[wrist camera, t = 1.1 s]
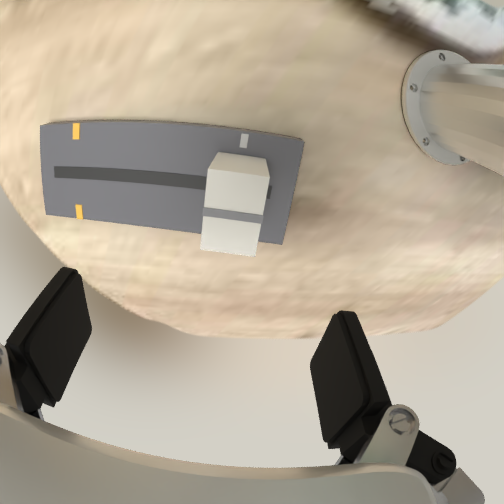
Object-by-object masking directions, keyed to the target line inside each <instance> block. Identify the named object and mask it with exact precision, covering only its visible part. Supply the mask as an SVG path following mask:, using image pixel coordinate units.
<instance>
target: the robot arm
mask: <svg viewBox="0 0 504 504" xmlns="http://www.w3.org/2000/svg"><path fill="white" fill-rule="evenodd" d="M410 86H411V89H410ZM402 108H403V114H404V118H405V122H406V125H407V127H408V130H409V132H410V134H411V136H412V137H413V139H414V141H415V143H416V144H417V145H418V146H419V147H420V149H421V150H422V151H423V152H424V153H426V154H427V155H428V156H429V157H431V158H433V159H435V160H436V161H439V162H441V163H443V164H447V165H461V164H464V163H467V162H469V161H470V160H471V161H473V162H475V163H478V164H480V165H482V166H484V167H486V168H488V169H490V170H492V171H494V172H496V173H498V174H500V175H502V176H504V65H499V64H471V63H470V62H469V61H468V60H466V59H465V58H464V57H462V56H461V55H459V54H457V53H455V52H451V51H447V50H434V51H429V52H426V53H424V54H422V55H420V56H419V57H418V58H416V59H415V60H414V61H413V63H412V64H411V65H410V67H409V68H408V71H407V73H406V75H405V78H404V82H403V86H402ZM91 331H92V326H91V321H90V317H89V312H88V308H87V303H86V298H85V293H84V288H83V282H82V277H81V275H80V274H78V271H77V270H76V269H72V268H67V267H62V268H61V269H60V270H59V271H58V273H57V274H56V275H55V276H54V277H53V278H52V280H51V281H50V282H49V283H48V285H47V286H46V287H45V288H44V290H43V291H42V292H41V294H40V295H39V296H38V298H37V299H36V300H35V301H34V303H33V304H32V305H31V307H30V308H29V309H28V311H27V312H26V313H25V315H24V316H23V317H22V319H21V320H20V322H19V323H18V325H17V326H16V327H15V329H14V330H13V332H12V333H11V335H10V336H9V338H8V339H7V343H6V345H5V346H3V345H2V344H0V504H484V502H485V499H484V495H483V493H482V491H481V490H480V489H479V488H478V487H477V486H476V485H475V484H474V482H473V481H472V480H471V479H470V478H469V477H468V476H467V475H466V474H465V473H464V471H462V469H461V468H458V469H456V459H455V455H454V454H453V452H452V451H451V450H450V449H449V448H447V447H446V446H444V445H442V444H441V443H439V442H437V441H436V440H434V439H433V438H431V437H429V436H428V435H426V434H425V433H423V432H422V431H420V430H419V419H418V417H417V415H416V414H415V412H414V411H413V410H412V409H410V408H409V407H407V406H405V405H399V404H397V405H392V404H391V401H390V398H389V395H388V392H387V390H386V387H385V384H384V381H383V379H382V376H381V373H380V371H379V368H378V365H377V363H376V361H375V358H374V355H373V353H372V351H371V349H370V346H369V344H368V341H367V339H366V336H365V334H364V332H363V329H362V327H361V324H360V322H359V320H358V317H357V315H356V313H355V312H352V311H339V312H338V313H337V314H334V315H333V316H332V319H331V321H330V323H329V325H328V327H327V329H326V331H325V333H324V335H323V337H322V339H321V341H320V343H319V345H318V347H317V349H316V351H315V353H314V355H313V358H312V360H311V362H310V370H311V375H312V381H313V386H314V391H315V397H316V402H317V407H318V413H319V418H320V425H321V430H322V436H323V440H324V442H327V443H328V449H335V448H340V452H341V456H340V458H339V459H338V461H337V462H336V464H335V465H332V466H320V467H297V468H251V467H234V466H221V465H211V464H202V463H194V462H187V461H181V460H175V459H169V458H164V457H158V456H153V455H149V454H144V453H140V452H136V451H131V450H128V449H124V448H120V447H116V446H113V445H109V444H106V443H103V442H100V441H96V440H93V439H90V438H87V437H84V436H82V435H79V434H76V433H73V432H70V431H68V430H65V429H63V428H60V427H57V426H55V425H52V424H50V423H48V422H45V421H44V418H43V415H42V412H41V409H40V408H41V406H42V403H44V404H47V405H49V406H52V407H54V406H55V404H56V401H57V402H59V401H60V400H61V398H62V395H63V393H64V391H65V388H66V386H67V384H68V382H69V379H70V377H71V374H72V372H73V370H74V368H75V366H76V364H77V362H78V359H79V357H80V355H81V353H82V351H83V349H84V347H85V345H86V343H87V341H88V339H89V337H90V335H91Z"/></svg>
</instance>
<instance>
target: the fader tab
mask: <svg viewBox="0 0 504 504" xmlns="http://www.w3.org/2000/svg"><path fill="white" fill-rule="evenodd" d="M269 179H270V176H269V171H268V167H267V162H266V159H265V158H259V157H252V156H246V155H238V154H231V153H223V152H218V153H217V155H216V156H215V158H214V159H213V161H212V163H211V164H210V166H209V168H208V173H207V182H206V191H205V201H204V207H203V213H202V216H203V223H202V235H201V248H200V250H207V251H215V252H222V253H230V254H237V255H245V256H252V257H255V255H256V249H257V244H258V239H259V233H260V228H261V224H262V222H263V217H264V215H263V212H264V206H265V201H266V196H267V190H268V185H269Z"/></svg>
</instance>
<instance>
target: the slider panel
mask: <svg viewBox="0 0 504 504" xmlns="http://www.w3.org/2000/svg"><path fill="white" fill-rule="evenodd" d="M303 147H304V141H303V140H302V139H300V138H295V137H290V136H285V135H279V134H273V133H267V132H261V131H255V130H248V129H241V128H233V127H225V126H216V125H207V124H196V123H184V122H169V121H148V120H87V121H67V122H53V123H48V124H44V125H40V154H41V172H42V184H43V194H44V203H45V211H46V215H54V216H62V217H71V218H77V219H88V220H96V221H104V222H113V223H121V224H129V225H137V226H145V227H153V228H161V229H169V230H176V231H184V232H192V233H199V234H202V223H203V216H202V213H203V207H204V201H205V191H206V182H207V173H208V168H209V166H210V164H211V163H212V161H213V159H214V158H215V156H216V155H217V153H218V152H223V153H231V154H238V155H246V156H252V157H259V158H265V159H266V162H267V167H268V171H269V176H270V179H269V185H268V190H267V196H266V201H265V206H264V212H263V215H264V217H263V222H262V224H261V228H260V233H259V239H258V241H259V242H266V243H273V244H280V245H282V243H283V239H284V234H285V230H286V225H287V221H288V217H289V212H290V208H291V203H292V199H293V194H294V190H295V185H296V180H297V176H298V171H299V166H300V161H301V157H302V152H303Z"/></svg>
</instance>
